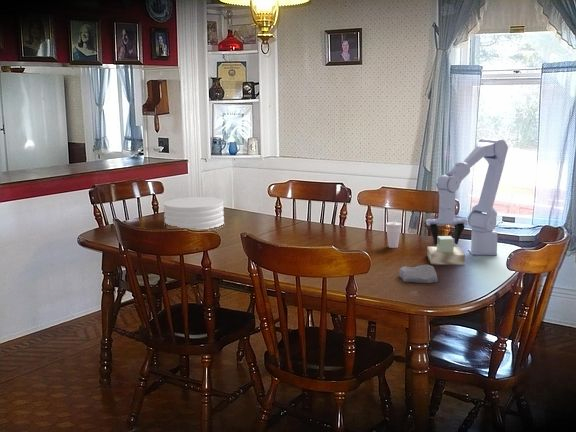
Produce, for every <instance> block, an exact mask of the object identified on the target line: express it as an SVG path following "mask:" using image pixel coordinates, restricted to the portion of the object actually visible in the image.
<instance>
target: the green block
mask: <svg viewBox="0 0 576 432" xmlns="http://www.w3.org/2000/svg"><path fill="white" fill-rule="evenodd" d="M454 239H455V238H454V237H452V235H437V245H436V247H437V250H438V251H439V252H440V253H442V252H453V251H454V247H455V245H454V244H455V243H454Z"/></svg>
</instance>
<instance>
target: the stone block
mask: <svg viewBox="0 0 576 432" xmlns="http://www.w3.org/2000/svg"><path fill="white" fill-rule="evenodd" d="M398 277H400V278H401V279H402V281H403V282H405V283H406V282H407V283H421V284H431V283H432V284H433V283H437V282H438V275H437V272H436V269H435V268H434V266H433V265H430V264H421V265H416V266H414V267H413V266H412V267H410V266H405V265H404V266H402V267H400V268H399V271H398Z"/></svg>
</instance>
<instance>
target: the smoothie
mask: <svg viewBox="0 0 576 432" xmlns="http://www.w3.org/2000/svg"><path fill="white" fill-rule="evenodd" d="M385 227H386V234H387V236H386V237H387V244H388V248H390V249H397V248H398V247H399V241H400V235H401V227H402V223H401V222H399V221H398V222H397V221H396V213H395V212H393V221H388V222H386V223H385Z"/></svg>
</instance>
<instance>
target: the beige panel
mask: <svg viewBox="0 0 576 432" xmlns="http://www.w3.org/2000/svg"><path fill="white" fill-rule="evenodd" d="M426 252H427V253H426V254H427V255H426V257H427V258H428V261H429V264H431V265H460V266H461V265H465V262H466V261H465V260H466V259H465V258H466V257H465V256H466V255H465V253H464V252H463V250H462V248H461V247H460V246H454V251H453V252H442V253H440V252H439V251H438V250H437V246H427V250H426Z"/></svg>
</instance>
